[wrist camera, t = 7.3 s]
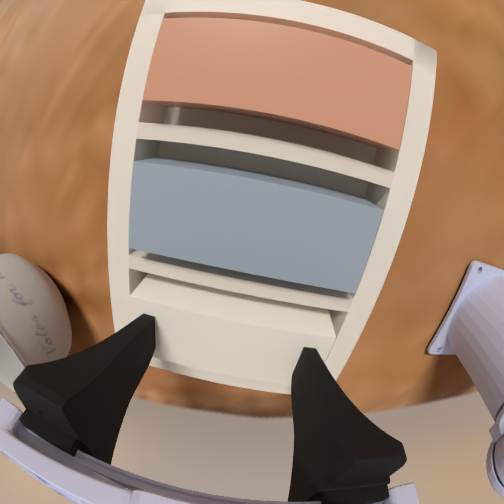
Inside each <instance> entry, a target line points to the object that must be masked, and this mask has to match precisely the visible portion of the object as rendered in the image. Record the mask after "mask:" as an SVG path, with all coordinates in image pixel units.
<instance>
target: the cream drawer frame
mask: <svg viewBox="0 0 504 504" xmlns="http://www.w3.org/2000/svg"><path fill="white" fill-rule="evenodd" d="M192 17H200V18H228V19H241V20H251V21H259V22H267V23H273V24H279V25H285V26H291V27H296V28H300V29H305V30H309V31H314V32H318V33H322V34H326V35H329V36H333V37H336V38H340V39H343V40H346V41H350V42H353V43H356V44H359V45H362V46H364V47H367V48H370V49H373V50H375V51H378V52H380V53H383V54H385V55H388V56H390V57H393V58H395V59H397V60H400V61H402V62H404V63H406V64H408V65H411V66H412V74H411V83H410V91H409V98H408V104H407V111H406V117H405V122H404V128H403V133H402V138H401V143H400V148H399V150H394V149H384V148H375V147H372V146H369V145H366V144H363V143H360V142H356V141H353V140H350V139H347V138H343V137H340V136H336V135H333V134H329V133H325V132H321V131H318V130H314V129H310V128H305V127H301V126H297V125H292V124H288V123H283V122H278V121H273V120H268V119H263V118H257V117H251V116H245V115H239V114H232V113H225V112H217V111H209V110H199V109H189V108H176V107H165V106H161V105H158V104H154V103H151V102H147V101H143V100H142V99H143V94H144V89H145V84H146V79H147V75H148V70H149V66H150V62H151V58H152V54H153V50H154V46H155V43H156V39H157V36H158V32H159V29H160V26H161V22H162V19H164V18H192ZM436 61H437V51H436V50H434V49H432V48H431V47H429V46H427V45H425V44H423V43H421V42H419V41H417V40H415V39H413V38H411V37H409V36H407V35H405V34H402V33H400V32H398V31H396V30H393V29H391V28H389V27H386V26H384V25H381V24H379V23H376V22H374V21H371V20H368V19H365V18H363V17H360V16H357V15H354V14H351V13H347V12H344V11H341V10H337V9H334V8H330V7H326V6H323V5H318V4H314V3H310V2H305V1H300V0H146V1H145V4H144V7H143V10H142V12H141V15H140V18H139V21H138V24H137V27H136V31H135V34H134V37H133V41H132V44H131V48H130V52H129V55H128V59H127V63H126V67H125V72H124V76H123V81H122V85H121V90H120V96H119V101H118V107H117V113H116V119H115V126H114V133H113V141H112V150H111V160H110V172H109V188H108V220H107V234H108V266H109V282H110V294H111V305H112V314H113V322H114V329H115V333H116V332H117V331H119V330H120V329H122V328H123V327H125V326H126V325H128V324H129V323H130V322H131V310H130V295H131V294H132V292H133V291H134V290H135V289H136V288H137V286H138V285H139V284H140V283H141V282H142V281H143V279H144V278H145V277H146V276H147V275H148V273H150V274H155V275H159V276H163V277H167V278H172V279H176V280H180V281H185V282H189V283H194V284H198V285H203V286H208V287H212V288H217V289H222V290H227V291H232V292H237V293H242V294H247V295H252V296H257V297H262V298H267V299H273V300H278V301H284V302H289V303H295V304H300V305H306V306H312V307H318V308H324V309H328V310H329V314H330V317H331V321H332V324H333V328H334V331H335V335H336V339H335V342H334V344H333V346H332V348H331V350H330V352H329V354H328V356H327V358H326V360H325V362H324V363H325V365H326V366H327V368H328V370H329V371H330V373H331V375H332V376H333V378H334V379H335V381H336V380H337V378H338V376H339V374H340V373H341V371H342V369H343V367H344V365H345V364H346V362H347V360H348V358H349V356H350V354H351V352H352V350H353V348H354V347H355V345H356V343H357V341H358V339H359V337H360V335H361V333H362V331H363V329H364V326H365V324H366V322H367V320H368V318H369V316H370V314H371V311H372V309H373V307H374V305H375V302H376V300H377V298H378V296H379V293H380V291H381V288H382V286H383V284H384V281H385V279H386V276H387V274H388V271H389V269H390V266H391V263H392V261H393V258H394V255H395V253H396V250H397V247H398V244H399V241H400V238H401V235H402V232H403V229H404V226H405V223H406V220H407V217H408V213H409V210H410V207H411V203H412V200H413V196H414V192H415V189H416V185H417V181H418V177H419V173H420V169H421V164H422V160H423V155H424V151H425V146H426V141H427V135H428V130H429V124H430V118H431V111H432V104H433V96H434V86H435V76H436ZM155 157H162V158H171V159H179V160H186V161H193V162H200V163H207V164H213V165H219V166H226V167H231V168H237V169H243V170H248V171H253V172H259V173H264V174H269V175H274V176H278V177H283V178H288V179H292V180H297V181H301V182H305V183H310V184H314V185H318V186H322V187H326V188H330V189H334V190H338V191H342V192H346V193H349V194H353V195H357V196H360V197H364V198H365V199H367V200H368V201H370V202H371V203H373V204H374V205H376V206H377V207H379V208H380V209H382V210H383V214H382V218H381V221H380V224H379V228H378V231H377V234H376V237H375V240H374V243H373V246H372V249H371V252H370V255H369V258H368V261H367V263H366V266H365V269H364V272H363V274H362V277H361V280H360V282H359V285H358V287H357V290H356V293H350V292H344V291H339V290H333V289H327V288H322V287H316V286H311V285H306V284H300V283H295V282H290V281H284V280H279V279H274V278H269V277H264V276H259V275H254V274H248V273H243V272H238V271H234V270H229V269H224V268H219V267H214V266H209V265H204V264H200V263H195V262H190V261H185V260H181V259H176V258H171V257H167V256H162V255H158V254H153V253H149V252H144V251H140V250H135V249H131V248H129V211H130V194H131V180H132V169H133V161H138V160H144V159H149V158H155ZM149 365H150V366H153V367H156V368H160V369H163V370H167V371H170V372H174V373H178V374H182V375H186V376H190V377H194V378H198V379H203V380H207V381H212V382H216V383H221V384H226V385H231V386H237V387H242V388H248V389H254V390H261V391H268V392H275V393H283V394H291V385H287V384H279V383H272V382H265V381H258V380H252V379H246V378H241V377H235V376H230V375H225V374H220V373H215V372H210V371H206V370H202V369H197V368H193V367H189V366H185V365H181V364H177V363H173V362H169V361H166V360H162V359H159V358H155V357H152V359H151V362H150V364H149Z"/></svg>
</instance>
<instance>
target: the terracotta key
mask: <svg viewBox="0 0 504 504" xmlns="http://www.w3.org/2000/svg"><path fill="white" fill-rule="evenodd" d="M411 74H412V66H411V65H408V64H406V63H404V62H402V61H400V60H397V59H395V58H393V57H390V56H388V55H385V54H383V53H380V52H378V51H375V50H373V49H370V48H367V47H364V46H362V45H359V44H356V43H353V42H350V41H346V40H343V39H340V38H336V37H333V36H329V35H326V34H322V33H318V32H314V31H309V30H305V29H300V28H296V27H291V26H285V25H279V24H273V23H267V22H259V21H251V20H241V19H228V18H200V17H192V18H164V19H162V22H161V26H160V29H159V32H158V36H157V39H156V43H155V46H154V50H153V54H152V58H151V62H150V66H149V70H148V75H147V79H146V84H145V89H144V94H143V99H142V100H143V101H147V102H151V103H154V104H158V105H161V106H165V107H176V108H189V109H199V110H209V111H217V112H225V113H232V114H239V115H245V116H251V117H257V118H263V119H268V120H273V121H278V122H283V123H288V124H292V125H297V126H301V127H305V128H310V129H314V130H318V131H321V132H325V133H329V134H333V135H336V136H340V137H343V138H347V139H350V140H353V141H356V142H360V143H363V144H366V145H369V146H372V147H375V148H384V149H394V150H399V148H400V143H401V138H402V133H403V128H404V122H405V117H406V111H407V104H408V98H409V91H410V83H411Z"/></svg>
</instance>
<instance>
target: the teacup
mask: <svg viewBox="0 0 504 504" xmlns="http://www.w3.org/2000/svg"><path fill="white" fill-rule="evenodd" d="M71 343H72V329H71V323H70V320H69V317H68V311H67V307H66V304H65V302H64V299H63V297H62V295H61V293H60V291H59V289H58V288H57V286H56V285H55V283H54V282H53V281H52V279H51V278H50V277H49V276H48V275H47V273H46V272H45V271H43V270H42V269H41V268H40V267H39V266H37V265H36V264H34V263H32V262H30V261H28V260H27V259H25V258H23V257H21V256H19V255H16V254H11V253H4V254H0V380H1V381H2V382H3V383H4V384H5V385H6V386H7V387H8V388H10V389H11V390H13V391H14V392H15V390H14V387H13V382H14V381H15V379H16V378H17V377H18V376H19V374H20V373H21V372H22V371H23V370H24V368H25V367H26V366H27V365H33V364H40V363H46V362H50V361H54V360H58V359H62V358H65V357H67V355H68V353H69V351H70V348H71ZM15 393H16V392H15Z"/></svg>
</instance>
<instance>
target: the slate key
mask: <svg viewBox="0 0 504 504" xmlns="http://www.w3.org/2000/svg"><path fill="white" fill-rule="evenodd" d="M382 214H383V210H382V209H380V208H379V207H377V206H376V205H374V204H373V203H371V202H370V201H368V200H367V199H365V198H364V197H360V196H357V195H353V194H349V193H346V192H342V191H338V190H334V189H330V188H326V187H322V186H318V185H314V184H310V183H305V182H301V181H297V180H292V179H288V178H283V177H278V176H274V175H269V174H264V173H259V172H253V171H248V170H243V169H237V168H231V167H226V166H219V165H213V164H207V163H200V162H193V161H186V160H179V159H171V158H162V157H155V158H149V159H144V160H138V161H133V169H132V180H131V194H130V211H129V248H131V249H135V250H140V251H144V252H149V253H153V254H158V255H162V256H167V257H171V258H176V259H181V260H185V261H190V262H195V263H200V264H204V265H209V266H214V267H219V268H224V269H229V270H234V271H238V272H243V273H248V274H254V275H259V276H264V277H269V278H274V279H279V280H284V281H290V282H295V283H300V284H306V285H311V286H316V287H322V288H327V289H333V290H339V291H344V292H350V293H356V290H357V287H358V285H359V282H360V280H361V277H362V274H363V272H364V269H365V266H366V263H367V261H368V258H369V255H370V252H371V249H372V246H373V243H374V240H375V237H376V234H377V231H378V228H379V224H380V221H381V218H382Z"/></svg>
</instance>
